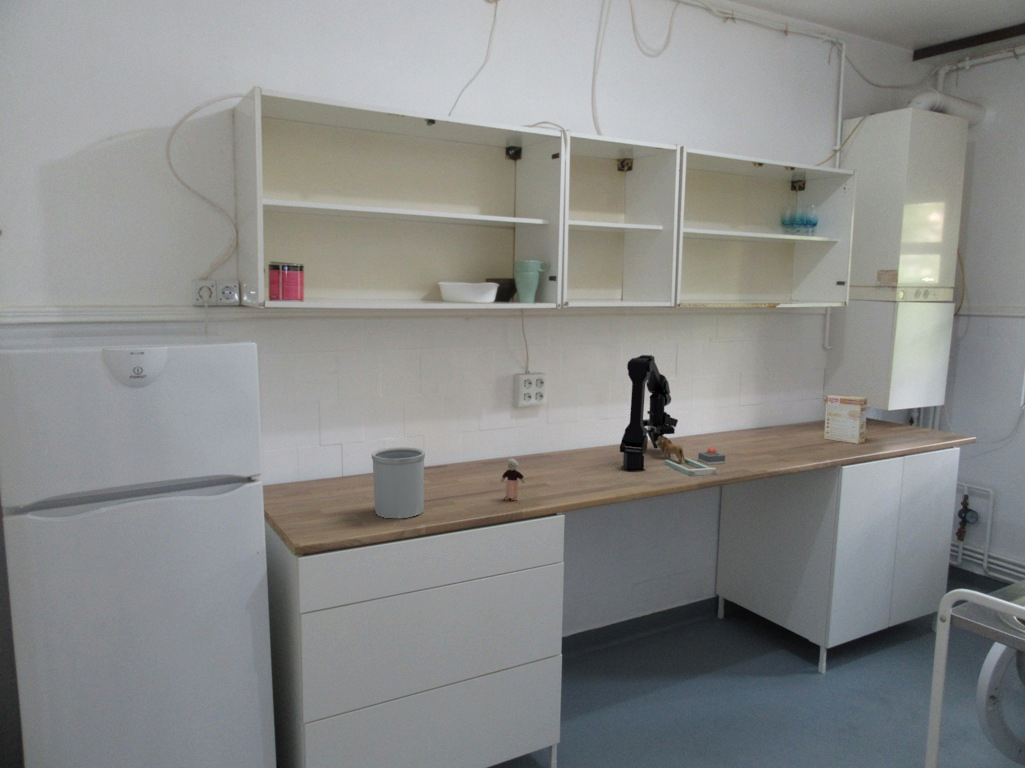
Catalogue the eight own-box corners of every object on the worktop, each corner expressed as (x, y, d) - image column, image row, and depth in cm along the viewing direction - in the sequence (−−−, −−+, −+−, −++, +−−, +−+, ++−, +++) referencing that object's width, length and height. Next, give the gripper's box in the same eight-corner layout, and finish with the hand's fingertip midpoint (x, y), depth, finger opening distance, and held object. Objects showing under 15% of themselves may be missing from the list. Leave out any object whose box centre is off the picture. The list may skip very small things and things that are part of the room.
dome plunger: (710, 459, 271) (710, 448, 270) (705, 457, 274) (705, 446, 273) (717, 458, 272) (718, 448, 271) (712, 456, 275) (713, 446, 274)
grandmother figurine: (499, 500, 219) (499, 459, 218) (501, 497, 223) (501, 457, 221) (524, 501, 218) (524, 460, 216) (525, 498, 222) (526, 457, 220)
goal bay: (690, 476, 251) (691, 470, 251) (664, 464, 269) (664, 458, 269) (716, 474, 254) (716, 468, 253) (688, 462, 272) (688, 457, 271)
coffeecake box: (865, 442, 312) (868, 397, 310) (858, 444, 308) (861, 398, 305) (830, 437, 323) (833, 393, 321) (823, 439, 319) (825, 395, 316)
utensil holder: (409, 523, 197) (408, 460, 195) (362, 516, 202) (361, 455, 200) (434, 508, 211) (434, 449, 209) (390, 503, 216) (389, 445, 214)
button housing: (708, 464, 269) (708, 456, 268) (698, 460, 275) (698, 452, 275) (724, 463, 271) (725, 455, 270) (714, 459, 277) (714, 451, 277)
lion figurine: (652, 458, 278) (653, 435, 277) (661, 456, 281) (662, 434, 280) (684, 465, 267) (685, 441, 266) (692, 463, 270) (693, 439, 269)
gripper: (687, 411, 277) (686, 451, 279) (663, 405, 295) (662, 442, 296) (661, 413, 274) (660, 453, 276) (638, 406, 291) (637, 444, 293)
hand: (655, 448), depth 285 cm, fingers closed
